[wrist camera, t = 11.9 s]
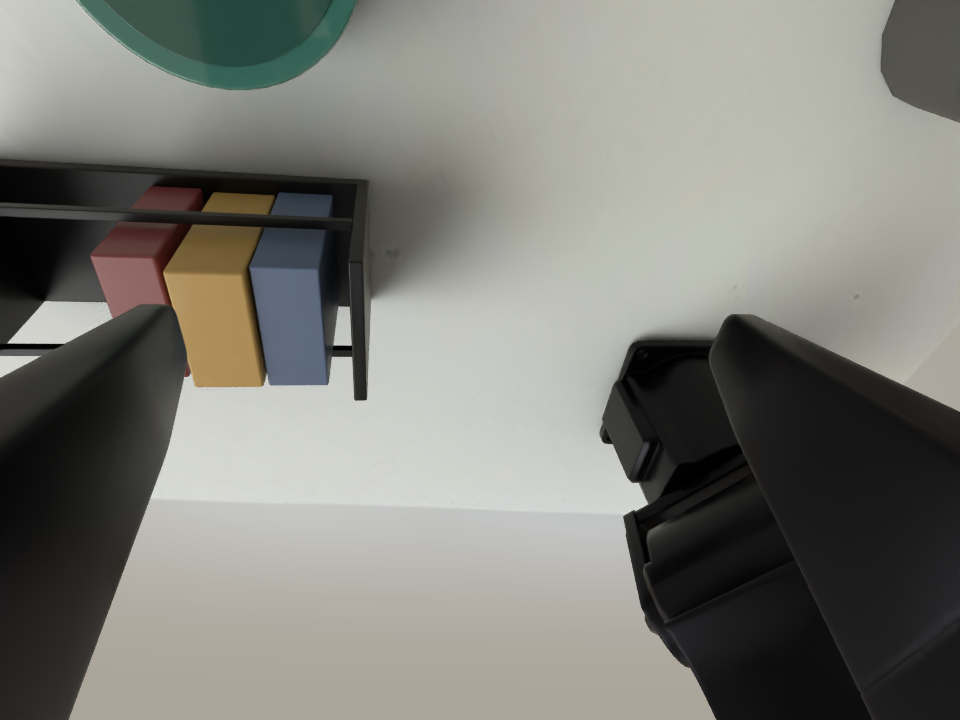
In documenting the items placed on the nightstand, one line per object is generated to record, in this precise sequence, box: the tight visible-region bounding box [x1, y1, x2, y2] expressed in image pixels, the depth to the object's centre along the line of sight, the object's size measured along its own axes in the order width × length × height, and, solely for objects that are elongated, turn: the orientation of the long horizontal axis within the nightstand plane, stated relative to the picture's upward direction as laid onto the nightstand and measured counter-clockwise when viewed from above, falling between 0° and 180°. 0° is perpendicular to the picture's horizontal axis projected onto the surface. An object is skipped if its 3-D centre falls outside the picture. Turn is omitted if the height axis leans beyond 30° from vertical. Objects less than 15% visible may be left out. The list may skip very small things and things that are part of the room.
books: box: [90, 186, 339, 387], centre depth 17 cm, size 6×4×5 cm
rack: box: [0, 159, 371, 401], centre depth 17 cm, size 12×5×6 cm, turn 84°
